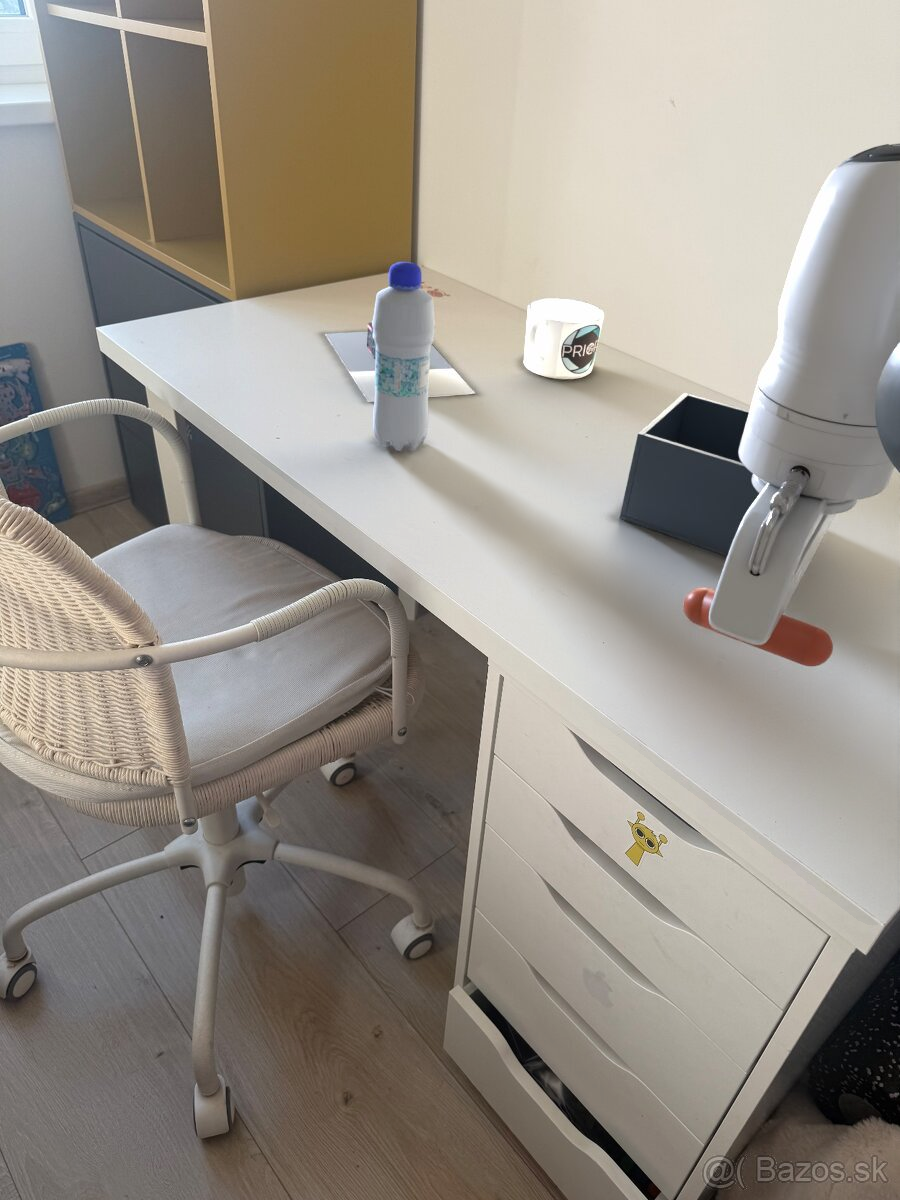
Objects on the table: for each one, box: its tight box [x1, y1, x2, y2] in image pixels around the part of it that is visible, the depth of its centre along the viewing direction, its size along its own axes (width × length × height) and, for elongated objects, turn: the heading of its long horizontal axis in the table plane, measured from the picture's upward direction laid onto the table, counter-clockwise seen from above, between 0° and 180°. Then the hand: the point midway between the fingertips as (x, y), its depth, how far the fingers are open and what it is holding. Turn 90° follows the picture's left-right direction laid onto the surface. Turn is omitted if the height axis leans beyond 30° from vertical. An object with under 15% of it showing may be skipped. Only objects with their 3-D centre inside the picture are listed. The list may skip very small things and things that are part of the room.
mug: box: [523, 297, 605, 380], centre depth 115 cm, size 13×10×8 cm
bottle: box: [371, 261, 436, 452], centre depth 90 cm, size 7×7×20 cm
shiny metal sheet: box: [324, 321, 476, 403], centre depth 115 cm, size 14×25×4 cm, turn 19°
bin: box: [619, 392, 760, 557], centre depth 84 cm, size 13×13×10 cm
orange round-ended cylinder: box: [682, 586, 834, 667], centre depth 58 cm, size 10×3×3 cm, turn 57°
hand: (757, 622), depth 58 cm, fingers closed on orange round-ended cylinder, 3 cm apart
